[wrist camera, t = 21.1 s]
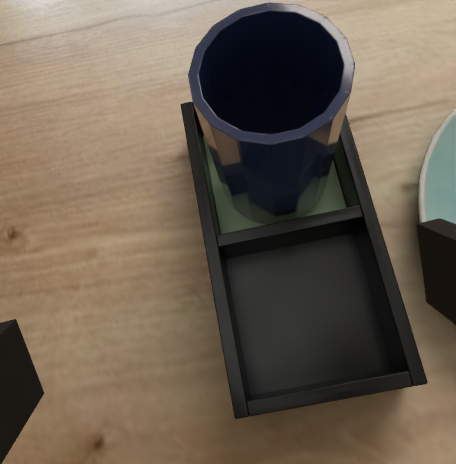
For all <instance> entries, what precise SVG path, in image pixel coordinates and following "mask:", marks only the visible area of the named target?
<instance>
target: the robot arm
mask: <svg viewBox="0 0 456 464" xmlns="http://www.w3.org/2000/svg"><path fill="white" fill-rule="evenodd" d="M417 231H418V239H419V246H420V254H421V262H422V270H423V278H424V286H425V294H426V302H427V303H428V304H430V305H431V306H432V307H434V308H435V309H436V310H437V311H439V312H440V313H441V314H443V315H444V316H445V317H446V318H448V319H449V320H450V321H452V322H453V323H454V324H456V224H454V223H452V222H449V221H446V220H444V219H441V218H439V219H434V220H430V221H426V222H422V223H418V224H417ZM43 394H44V391H43V388H42V386H41V383H40V381H39V378H38V375H37V373H36V370H35V367H34V365H33V362H32V360H31V357H30V354H29V352H28V349H27V347H26V344H25V341H24V339H23V336H22V334H21V331H20V328H19V326H18V323H17V320H16V319H14V320H10V321H6V322H2V323H0V464H2V462H3V460H4V459H5V457H6V455H7V454H8V452H9V450H10V449H11V447H12V445H13V444H14V442H15V441H16V439H17V437H18V436H19V434H20V432H21V431H22V429H23V427H24V426H25V424H26V422H27V421H28V419H29V417H30V416H31V414H32V413H33V411H34V409H35V408H36V406H37V404H38V403H39V401H40V399H41V398H42V396H43Z"/></svg>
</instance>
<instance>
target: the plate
mask: <svg viewBox="0 0 456 464" xmlns="http://www.w3.org/2000/svg"><path fill="white" fill-rule="evenodd" d="M418 211H419V220H420V223H422V222H426V221H430V220H434V219H439V218H441V219H444V220H446V221H449V222H452V223H454V224H456V108H455V109H454V110H453V111H452V112H451V113H450V114H449V115H448V116H447V118H446V119H445V120H444V121H443V123H442V124H441V126H440V127H439V128H438V130H437V131H436V133H435V135H434V136H433V138H432V140H431V142H430V144H429V146H428V149H427V151H426V154H425V157H424V160H423V164H422V167H421V172H420V177H419V185H418Z"/></svg>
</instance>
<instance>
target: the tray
mask: <svg viewBox="0 0 456 464" xmlns="http://www.w3.org/2000/svg"><path fill="white" fill-rule="evenodd" d="M181 109H182V115H183V121H184V127H185V133H186V138H187V144H188V150H189V156H190V162H191V167H192V173H193V179H194V185H195V191H196V196H197V202H198V208H199V214H200V220H201V225H202V231H203V237H204V243H205V249H206V254H207V260H208V266H209V272H210V278H211V283H212V289H213V295H214V301H215V307H216V312H217V318H218V324H219V330H220V336H221V341H222V347H223V353H224V359H225V365H226V370H227V376H228V382H229V388H230V394H231V399H232V405H233V411H234V417H235V419H238V418H243V417H248V416H254V415H260V414H265V413H270V412H276V411H281V410H287V409H292V408H298V407H303V406H309V405H314V404H319V403H325V402H330V401H336V400H341V399H347V398H352V397H358V396H363V395H368V394H374V393H379V392H385V391H390V390H396V389H401V388H407V387H412V386H417V385H423V384H427V379H426V376H425V372H424V369H423V366H422V362H421V359H420V356H419V353H418V349H417V346H416V343H415V339H414V336H413V333H412V330H411V326H410V323H409V320H408V316H407V313H406V310H405V307H404V303H403V300H402V297H401V293H400V290H399V287H398V284H397V280H396V277H395V274H394V270H393V267H392V264H391V261H390V257H389V254H388V251H387V247H386V244H385V241H384V238H383V234H382V231H381V228H380V224H379V221H378V218H377V215H376V211H375V208H374V205H373V201H372V198H371V195H370V192H369V188H368V185H367V182H366V179H365V175H364V172H363V169H362V165H361V162H360V159H359V156H358V152H357V149H356V146H355V142H354V139H353V136H352V133H351V129H350V126H349V123H348V119H347V116H346V113H345V116H344V120H343V123H342V127H341V131H340V135H339V138H338V142H337V146H336V149H335V153H334V157H333V161H332V164H331V168H330V172H329V175H328V179H327V183H326V187H325V190H324V192H323V193H322V196H321V198H320V199H319V201H318V203H317V204H316V205H315V207H314V208H313V209H312V210H311V211H310V212H308V213H307V214H306V215H304V216H303V217H300V218H296V219H291V220H286V221H281V222H277V223H272V224H267V225H266V224H260V223H256V222H254V221H251V220H249V219H247V218H245V217H244V216H242V215H241V214H240V213H238V212H237V211H236V210H235V209H234V208H233V206H232V205H231V204H230V202H229V201H228V199H227V197H226V195H225V194H224V191H223V188H222V186H221V183H220V180H219V177H218V174H217V171H216V168H215V165H214V162H213V159H212V156H211V153H210V150H209V147H208V144H207V141H206V139H205V136H204V133H203V130H202V127H201V124H200V121H199V118H198V115H197V112H196V109H195V106H194V103H193V102H188V103H183V104H181Z"/></svg>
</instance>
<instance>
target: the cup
mask: <svg viewBox="0 0 456 464" xmlns="http://www.w3.org/2000/svg"><path fill="white" fill-rule="evenodd" d="M354 69H355V63H354V60H353V57H352V54H351V50H350V47H349V44H348V41H347V39H346V37H345V36H344V35H343V34H342V33H341V32H340V31H339V30H338V29H337V28H336V26H335V25H334V24H333V23H332V22H331V21H330V20H329V19H328V18H326V17H325V16H323V15H321V14H319V13H316V12H314V11H312V10H310V9H307V8H305V7H303V6H301V5H295V4H282V3H264V4H260V5H256V6H252V7H248V8H243V9H240V10H237V11H236V12H234V13H232V14H231V15H229V16H228V17H226V18H224V19H223V20H221V21H220V22H218V23H216V24H215V25H214V26H212V28H211V29H210V30H209V31H208V33H207V34H206V35H205V37H204V38H203V39H202V40H201V42H200V43H199V44H198V45H197V47H196V49H195V51H194V55H193V59H192V62H191V66H190V70H189V74H188V78H189V83H190V89H191V94H192V100H193V103H194V106H195V109H196V112H197V115H198V118H199V121H200V124H201V127H202V130H203V133H204V136H205V139H206V141H207V144H208V147H209V150H210V153H211V156H212V159H213V162H214V165H215V168H216V171H217V174H218V177H219V180H220V183H221V186H222V188H223V191H224V194H225V195H226V197H227V199H228V201H229V202H230V204H231V205H232V206H233V208H234V209H235V210H236V211H237V212H238V213H240V214H241V215H242V216H244V217H245V218H247V219H249V220H251V221H254V222H256V223H260V224H266V225H267V224H272V223H277V222H281V221H286V220H291V219H296V218H300V217H303V216H304V215H306V214H307V213H308V212H310V211H311V210H312V209H313V208H314V207H315V205H316V204H317V203H318V201H319V199H320V198H321V196H322V193H323V192H324V190H325V187H326V183H327V179H328V175H329V172H330V168H331V164H332V161H333V157H334V153H335V149H336V146H337V142H338V138H339V135H340V131H341V127H342V123H343V120H344V116H345V112H346V109H347V105H348V101H349V97H350V94H351V88H352V82H353V76H354Z"/></svg>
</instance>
